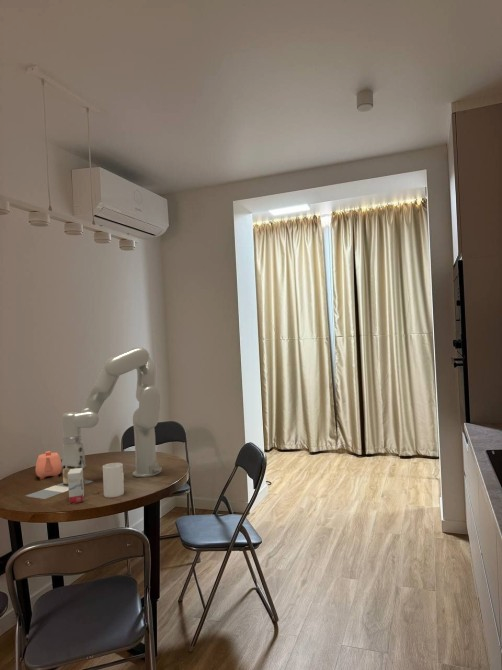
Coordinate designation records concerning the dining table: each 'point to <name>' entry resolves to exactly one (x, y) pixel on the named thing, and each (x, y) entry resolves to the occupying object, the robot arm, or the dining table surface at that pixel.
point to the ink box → (76, 485)
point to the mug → (113, 479)
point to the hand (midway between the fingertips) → (74, 480)
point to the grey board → (52, 491)
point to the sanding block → (65, 475)
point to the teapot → (48, 465)
